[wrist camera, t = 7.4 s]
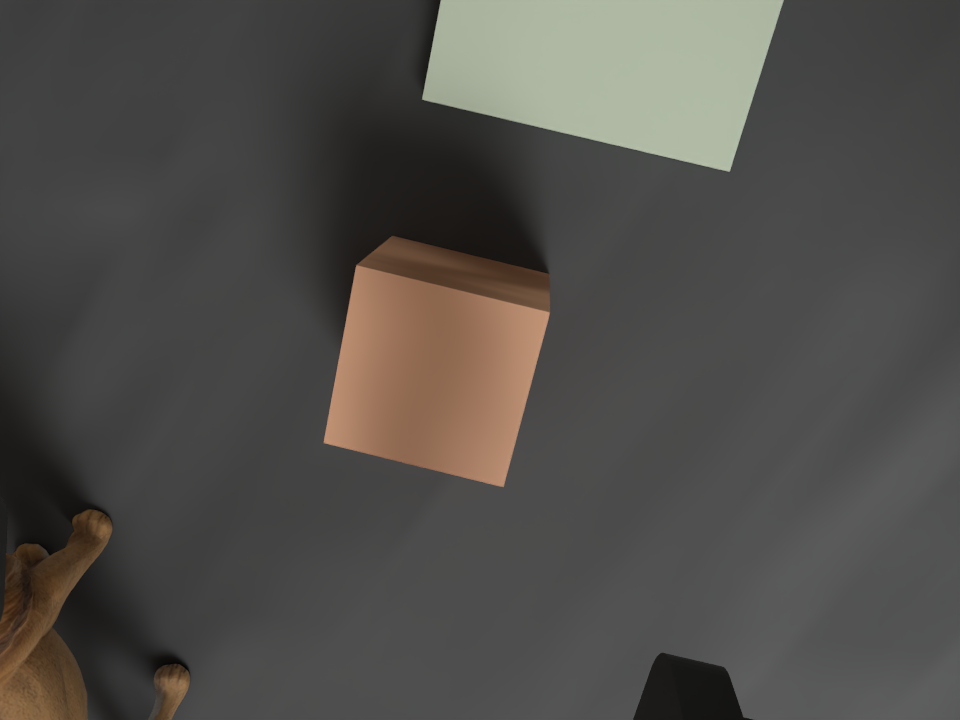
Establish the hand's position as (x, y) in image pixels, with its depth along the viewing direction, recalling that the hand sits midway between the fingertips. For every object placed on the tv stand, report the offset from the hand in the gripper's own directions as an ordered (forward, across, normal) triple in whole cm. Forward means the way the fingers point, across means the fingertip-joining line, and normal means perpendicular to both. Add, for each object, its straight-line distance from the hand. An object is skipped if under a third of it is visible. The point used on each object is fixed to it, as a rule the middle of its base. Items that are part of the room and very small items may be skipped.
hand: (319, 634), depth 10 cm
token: (+14, 0, 0) cm, 14 cm away
